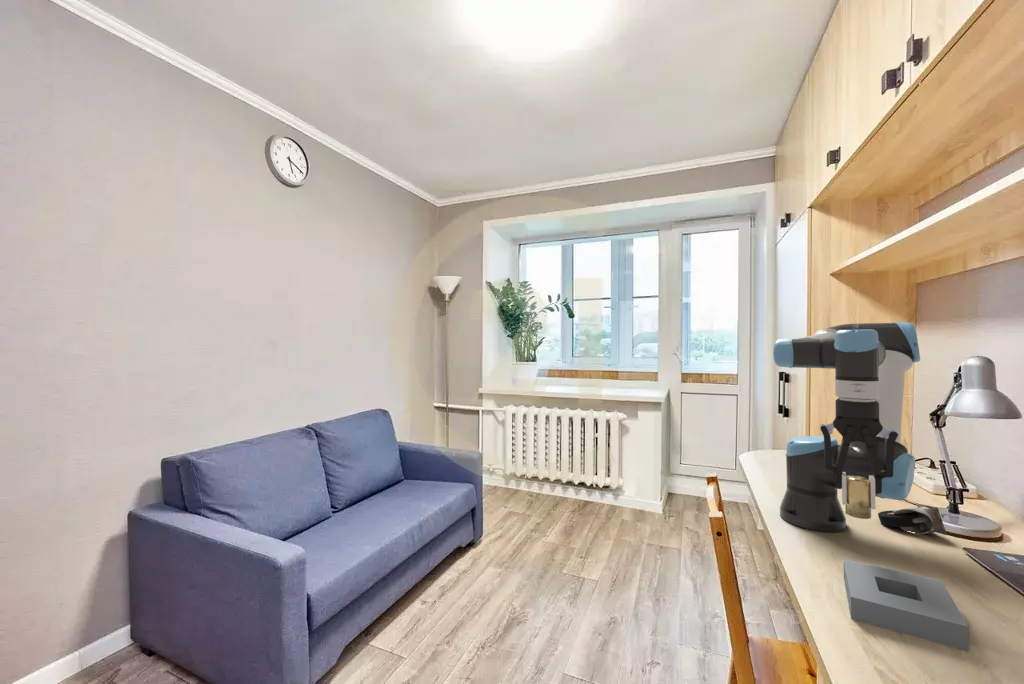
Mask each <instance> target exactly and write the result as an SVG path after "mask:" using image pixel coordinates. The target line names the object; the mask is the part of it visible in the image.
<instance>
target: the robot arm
mask: <svg viewBox="0 0 1024 684" xmlns="http://www.w3.org/2000/svg"><path fill="white" fill-rule="evenodd" d="M918 339H919V338H918V334H917V329H916V325H914V324H913V323H912V322H907V321H904V322H898V321H892V322H877V323H876V322H872V323H871V322H868V323H844V324H838V325H835V326H834V325H833V326H830V327H826V328H821V329H818V330H817V331H815V332H814V333H812V335H807V336H805V337H799V338H790V337H789V338H783V339H782V338H780V339H777V340H776V341H775V342H774V345H773V348H772V349H773V353H772V354H773V361H774V364H775V365H776V366H777V367H779V368H780V367H782V368H789V369H792V368H794V369H795V368H799V369H801V368H802V369H804V368H805V369H808V368H810V369H828V370H829V369H832V370H835V377H834V378H835V379H834V386H835V387H834V389H835V390H834V391H835V392H834V393H835V394H834V396H836V397H837V398H836V400H835V403H834V404H835V417H834V420H833V421H832V422H831V423H827V424H824V423H822V424H820V426H819V428H820V432H822V436H819V435H811V436H810V435H809V436H806V435H804V436H797V437H793V438H790V439H789V440H788V441H787V443H786V452H785V456H786V457H785V458H786V491H785V494H784V496H783V499H782V500H781V503H780V507H779V515H780V518H782V520H784V521H786V522H787V523H790V524H791V525H794V526H797V527H800V528H804V529H807V530H812V531H818V532H827V533H829V532H830V533H837V532H843V531H844V530H846V528H847V517H846V516H845V512H844V510H843V508H842V506H841V505H845V506H846V505H847V489H846V476H859V477H864V478H867V479H869V480H870V501H871V510H876V498H879V499H887V500H894V501H895V500H896V501H903V500H905V499H907V498H908V497H909V495H910V492H911V489H912V487H913V486H912V485H913V481H914V478H915V469H916V457H915V456H914V455H913V454H910V453H909V450H908V448H907V447H906V445H905V444H903V443H902V442H901V435H902V422H903V421H902V419H903V406H904V390H905V389H904V387H905V376H906V375H905V373H906V372H908V371H909V370H911V368H912V367H913V365H914V364H913V363H919V362H920V361H921V354H920V347H919V342H918ZM834 429H836V431H837V432H838V433H839V435H841V437H842V438H841V443H840V444H839V441H838V440H837V439H836V438H835V437H831V435H833V434H834V433H833V432H834V431H833V430H834ZM838 490H841V491H840V493H841V495H840V496H841V497H840V498H841V503H842V504H841V503H840V500H839V496H838Z"/></svg>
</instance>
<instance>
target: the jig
mask: <svg viewBox="0 0 1024 684" xmlns="http://www.w3.org/2000/svg"><path fill="white" fill-rule="evenodd" d="M842 562H843V581H844V587H845V591H846V592H845V593H846V598H847V605H848V604H849V605H848V608H849V615H850V619H852V620H855V621H858V622H862V623H865V624H869V625H873V626H877V627H880V628H883V629H887V630H891V631H895V632H898V633H901V634H906V635H909V636H912V637H914V638H918V639H923V640H925V641H930V642H933V643H937V644H941V645H944V646H948V647H951V648H955V649H958V650H962V651H965V652H969V651H970V639H969V638H970V637H969V634H970V633H969V632H970V631H969V630H970V629H969V628H970V627H969V625H968V623H967V622H966V619H965V618H964V617H963V615H962V613H961V611H960V610H959V608H958V606H957V605H956V603H955V601H954V600H953V597H952V595H951V594H950V592H949V590H948V589H947V588H946V585H945V584H944V582H943V581H942V580H941V579H937V578H933V577H928V576H924V575H919V574H914V573H909V572H904V571H901V570H896V569H892V568H886V567H882V566H878V565H875V564H874V565H873V564H869V563H864V562H859V561H855V560H849V559H846V558H843V561H842Z"/></svg>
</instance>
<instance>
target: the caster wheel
mask: <svg viewBox="0 0 1024 684" xmlns="http://www.w3.org/2000/svg"><path fill="white" fill-rule="evenodd" d="M916 506H917V507H910V508H901V509H899V510H897V509H894V510H891V509H890V510H884V511H879V512H878V513H877V516H878V520H879V523H880V522H881V523H882V524H881V523H880V524H881V525H883V526H887V527H895V528H900V529H901V530H902V531H903V530H904V531H903V532H905V531H911V532H915V534H914V535H925V534H931V533H933V534H934V533H937V534H941V535H945V536H947V535H948V533H947V531H946V528H945V525H944V522H943V519H942V516H941V512H940V510H939V507H937V506H933V505H927V504H923V503H916Z"/></svg>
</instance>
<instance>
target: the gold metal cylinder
mask: <svg viewBox="0 0 1024 684" xmlns="http://www.w3.org/2000/svg"><path fill="white" fill-rule="evenodd" d="M846 489H847V505H845V514H846V515H847V516H850V517H852V518H856V519H862V520H869V519H871V518H872V509H871V501H870V480H869V479H867V478H864V477H859V476H846Z"/></svg>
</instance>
